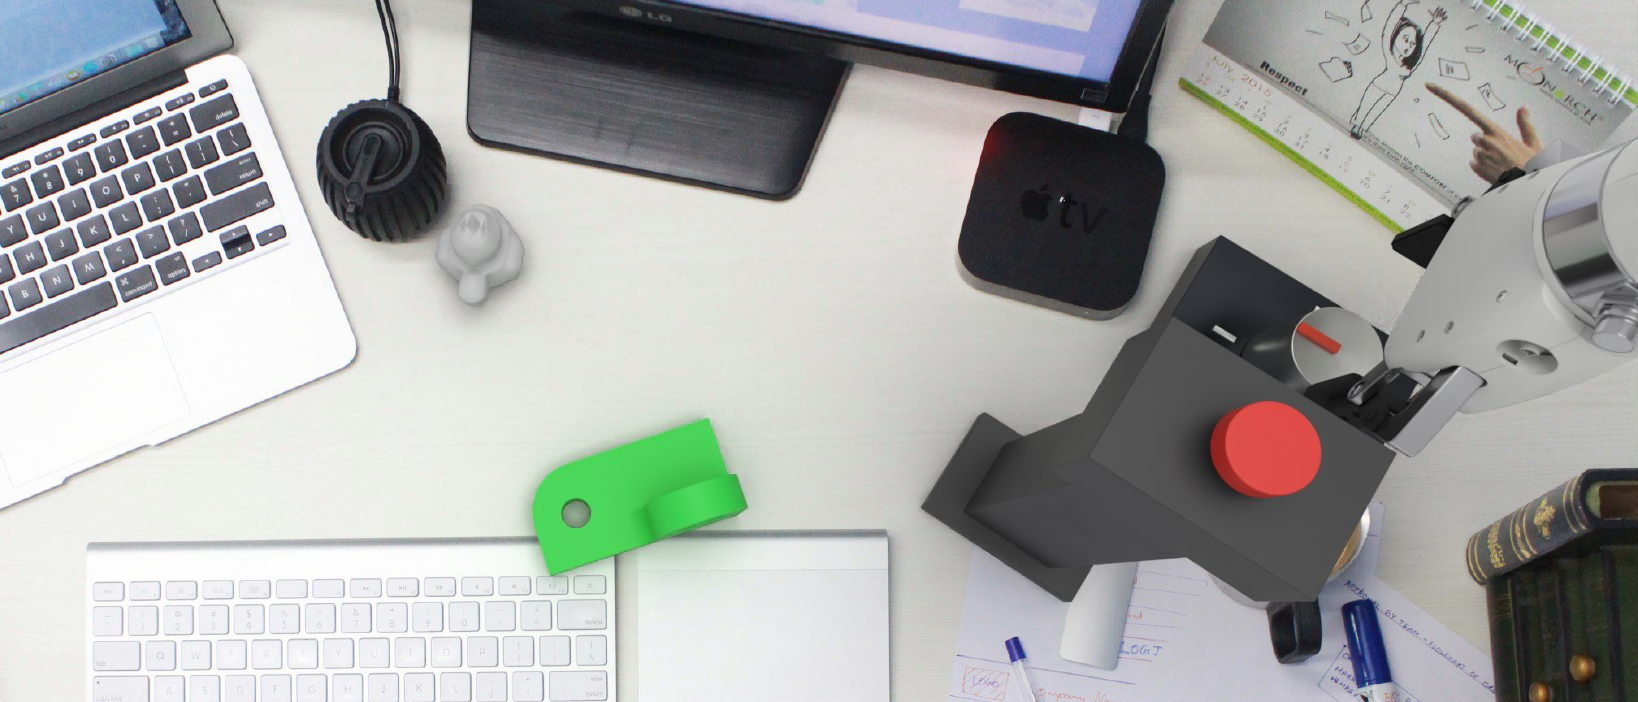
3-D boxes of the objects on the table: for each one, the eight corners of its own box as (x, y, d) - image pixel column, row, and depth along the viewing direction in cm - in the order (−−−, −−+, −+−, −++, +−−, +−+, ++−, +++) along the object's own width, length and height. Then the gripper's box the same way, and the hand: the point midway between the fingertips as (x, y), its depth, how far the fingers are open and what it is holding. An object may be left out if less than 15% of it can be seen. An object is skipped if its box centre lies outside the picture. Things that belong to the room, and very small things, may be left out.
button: (1320, 439, 46) (1339, 435, 45) (1276, 516, 46) (1294, 514, 45) (1237, 388, 47) (1253, 382, 46) (1193, 463, 46) (1208, 460, 45)
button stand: (1121, 505, 73) (1397, 453, 47) (1064, 602, 72) (1315, 602, 46) (978, 414, 74) (1173, 315, 49) (920, 508, 73) (1087, 457, 47)
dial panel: (1398, 369, 74) (1433, 359, 71) (1316, 516, 72) (1347, 512, 69) (1197, 248, 76) (1222, 233, 73) (1112, 389, 74) (1134, 379, 71)
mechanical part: (706, 422, 74) (717, 400, 66) (738, 514, 73) (753, 503, 65) (522, 482, 74) (511, 467, 66) (551, 576, 72) (544, 572, 65)
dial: (1339, 359, 71) (1403, 337, 66) (1300, 427, 70) (1361, 412, 65) (1264, 313, 72) (1320, 288, 66) (1224, 380, 71) (1278, 361, 65)
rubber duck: (533, 224, 77) (524, 181, 69) (517, 322, 76) (506, 290, 68) (450, 213, 77) (432, 169, 70) (433, 311, 76) (413, 277, 68)
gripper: (1655, 479, 44) (1362, 509, 61) (1843, 111, 46) (1513, 238, 63) (1467, 365, 45) (1230, 427, 61) (1663, 11, 47) (1385, 163, 64)
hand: (1374, 331), depth 62 cm, fingers open, 9 cm apart
